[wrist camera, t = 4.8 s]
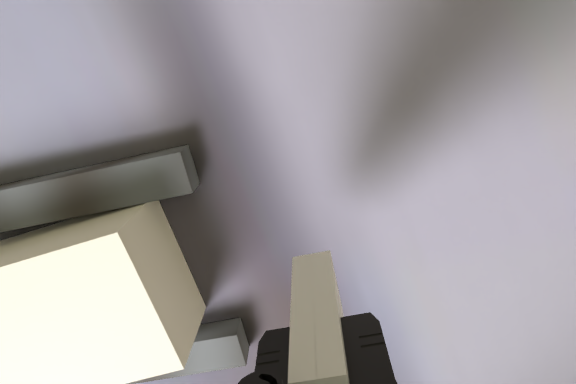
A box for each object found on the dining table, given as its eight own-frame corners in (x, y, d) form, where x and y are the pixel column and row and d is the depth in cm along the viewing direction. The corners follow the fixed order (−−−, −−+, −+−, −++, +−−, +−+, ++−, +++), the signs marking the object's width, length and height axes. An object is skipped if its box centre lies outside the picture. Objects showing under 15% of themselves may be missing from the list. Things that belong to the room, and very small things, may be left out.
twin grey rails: (188, 144, 21) (180, 152, 19) (249, 347, 25) (246, 365, 23) (-207, 229, 23) (-240, 242, 22) (-95, 403, 27) (-117, 423, 25)
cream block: (156, 191, 22) (117, 232, 17) (207, 305, 24) (184, 369, 19) (-13, 243, 23) (-94, 295, 18) (48, 347, 25) (-10, 417, 21)
